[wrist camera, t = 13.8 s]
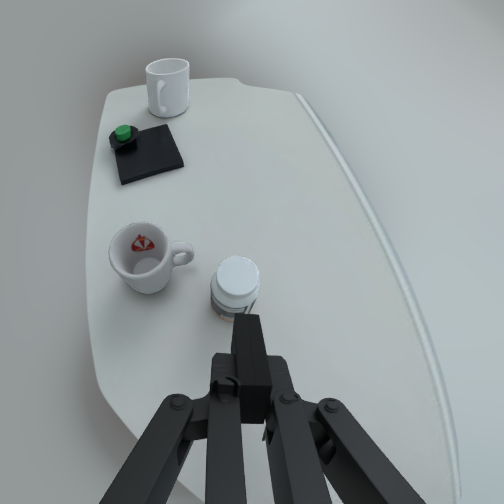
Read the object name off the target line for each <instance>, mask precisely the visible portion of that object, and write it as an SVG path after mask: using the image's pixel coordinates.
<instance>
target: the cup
mask: <svg viewBox="0 0 504 504" xmlns="http://www.w3.org/2000/svg"><path fill="white" fill-rule="evenodd" d="M182 252H186V254H185V255H183V256H175V255H176V254H178V253H182ZM193 257H194V250H193V247H192V245H191V244H190V243H188V242H184V241H181V242H170V240H169V237H168V235H167V234H166V232H165V231H164V230H163V229H162V228H161V227H159V226H158V225H156V224H153V223H150V222H135V223H132V224H129V225H127V226H125V227H124V228H122V229H121V230H120V231H119V232H118V233H117V234H116V235H115V236H114V238H113V240H112V242H111V244H110V248H109V260H110V263H111V265H112V267H113V269H114V270H115V271H116V272H117V273H118V274H119V276H120V277H121V278H122V279H123V280H124V281H125V282H126V283H127V284H128V285H129V286H130V287H132V288H133V289H134V290H136V291H138V292H140V293H144V294H152V293H155V292H158V291H160V290H161V289H162V288H164V287H165V285H166V284H167V283H168V281H169V279H170V276H171V270H172V268H173V267H175V266H181V265H185V264H188V263H189V262H191V261H192V259H193Z"/></svg>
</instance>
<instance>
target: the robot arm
mask: <svg viewBox="0 0 504 504" xmlns="http://www.w3.org/2000/svg"><path fill="white" fill-rule="evenodd" d="M264 420H265V421H266V427H265V430H264V434H263V438H262V441H264V440H265V439H266V447H267V454H268V461H269V468H270V475H271V482H272V489H273V496H274V502H275V504H332V501H331V498H330V494H329V491H328V487H327V484H326V481H325V477H324V474H325V476H326V477H327V479H328V480H329V482H330V484H331V485H332V487H333V488H334V490H335V491H336V493H337V494H338V496H339V497H340V499H341V500H342V502H343V503H344V504H426V503H425V502H424V500H423V499H422V498H421V497H420V496H419V495H418V494H417V492H416V491H415V490H414V489H413V488H412V487H411V485H410V484H409V483H408V482H407V481H406V480H405V478H404V477H403V476H402V475H401V474H400V472H399V471H398V470H397V469H396V468H395V467H394V465H393V464H392V463H391V462H390V461H389V459H388V458H387V457H386V456H385V455H384V453H383V452H382V451H381V450H380V449H379V447H378V446H377V445H376V444H375V442H374V441H373V440H372V439H371V438H370V436H369V435H368V434H367V433H366V432H365V430H364V429H363V428H362V427H361V425H360V424H359V423H358V422H357V420H356V419H355V418H354V417H353V416H352V414H351V413H350V412H349V411H348V409H347V408H346V407H345V406H344V404H343V403H342V402H340V401H339V400H337V399H334V398H325V399H322V400H321V401H320V402H319V403H318V404H317V403H311V402H307V401H304V400H302V399H301V397H300V395H299V394H297V393H296V392H295V391H294V387H293V384H292V380H291V377H290V374H289V370H288V366H287V363H286V361H285V360H284V359H283V358H282V356H270V355H267V354H266V349H265V344H264V338H263V333H262V328H261V323H260V318H259V315H256V314H242V313H235V316H234V325H233V334H232V343H231V354H226V353H216V354H215V355H214V356H213V358H212V367H211V381H210V391H209V393H208V394H207V395H206V396H205V397H203V398H200V399H195V400H191V399H190V398H189V397H188V396H185V395H183V394H172V395H169V396H167V397H166V398H165V399H164V400H163V402H162V403H161V405H160V407H159V408H158V410H157V412H156V413H155V415H154V416H153V418H152V420H151V421H150V423H149V424H148V426H147V428H146V429H145V431H144V432H143V434H142V436H141V437H140V439H139V440H138V442H137V444H136V445H135V447H134V448H133V450H132V452H131V453H130V455H129V456H128V458H127V460H126V461H125V463H124V465H123V466H122V468H121V469H120V471H119V472H118V474H117V476H116V477H115V479H114V480H113V482H112V484H111V485H110V487H109V488H108V490H107V492H106V493H105V495H104V497H103V498H102V500H101V501H100V503H99V504H166V502H167V500H168V497H169V495H170V493H171V491H172V489H173V486H174V484H175V482H176V480H177V477H178V475H179V473H180V471H181V469H182V466H183V464H184V462H185V460H186V457H187V455H188V453H189V450H190V448H191V446H192V444H193V440H199V439H205V438H207V456H206V486H205V504H247V499H246V487H245V475H244V462H243V448H242V433H241V423H242V424H264ZM323 473H324V474H323Z"/></svg>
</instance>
